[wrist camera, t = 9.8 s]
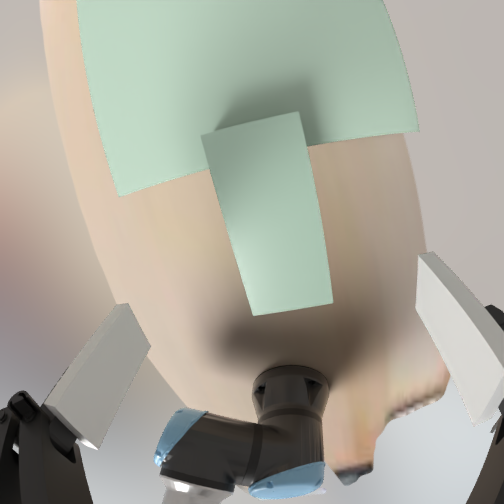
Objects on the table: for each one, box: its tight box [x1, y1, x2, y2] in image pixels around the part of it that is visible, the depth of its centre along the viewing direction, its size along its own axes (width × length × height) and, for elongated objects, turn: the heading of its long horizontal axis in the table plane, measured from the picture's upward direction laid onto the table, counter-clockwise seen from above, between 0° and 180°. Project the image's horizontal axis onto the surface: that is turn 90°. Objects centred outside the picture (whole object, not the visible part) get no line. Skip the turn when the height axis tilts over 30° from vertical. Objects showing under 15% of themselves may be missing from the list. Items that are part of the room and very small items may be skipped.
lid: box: [77, 0, 420, 316], centre depth 14 cm, size 27×20×5 cm
